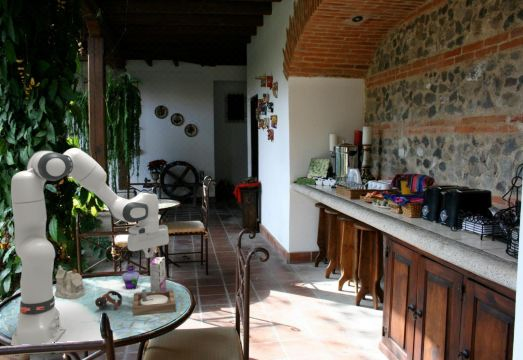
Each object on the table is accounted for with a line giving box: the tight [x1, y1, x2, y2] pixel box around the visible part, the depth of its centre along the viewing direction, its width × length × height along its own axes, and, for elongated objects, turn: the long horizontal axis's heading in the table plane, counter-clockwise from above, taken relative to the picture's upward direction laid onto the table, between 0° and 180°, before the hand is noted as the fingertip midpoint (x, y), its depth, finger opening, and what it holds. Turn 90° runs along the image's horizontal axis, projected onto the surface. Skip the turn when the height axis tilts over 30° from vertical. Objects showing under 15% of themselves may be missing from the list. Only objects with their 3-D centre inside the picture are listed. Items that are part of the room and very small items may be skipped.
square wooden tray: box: [132, 289, 177, 316], centre depth 205 cm, size 18×18×4 cm
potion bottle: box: [121, 263, 141, 290], centre depth 229 cm, size 9×9×12 cm
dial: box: [141, 288, 168, 305], centre depth 205 cm, size 12×12×7 cm
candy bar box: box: [149, 256, 167, 292], centre depth 221 cm, size 11×5×16 cm, turn 179°
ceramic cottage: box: [54, 265, 87, 300], centre depth 222 cm, size 16×16×15 cm
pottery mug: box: [94, 290, 123, 310], centre depth 203 cm, size 12×10×8 cm
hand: (149, 257), depth 206 cm, fingers closed
